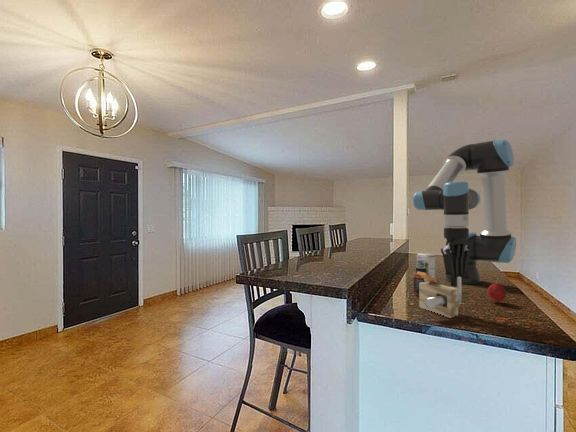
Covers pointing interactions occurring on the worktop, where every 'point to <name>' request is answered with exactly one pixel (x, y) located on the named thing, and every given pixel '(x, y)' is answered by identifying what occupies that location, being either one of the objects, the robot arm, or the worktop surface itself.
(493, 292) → the onion
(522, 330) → the worktop surface
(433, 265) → the syrup box
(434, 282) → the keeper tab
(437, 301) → the pin
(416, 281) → the supplement bottle
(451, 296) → the block
